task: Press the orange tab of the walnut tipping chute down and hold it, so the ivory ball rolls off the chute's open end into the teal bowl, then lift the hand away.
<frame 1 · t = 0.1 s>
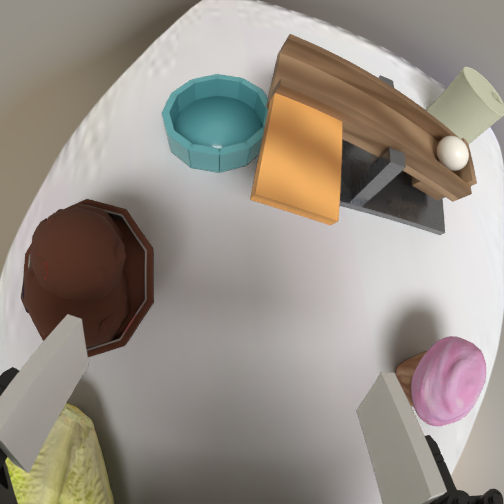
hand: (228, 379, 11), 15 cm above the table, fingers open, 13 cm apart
chute stand: (355, 161, 33), on the table
can: (446, 128, 38), on the table
teal bowl: (217, 128, 32), on the table
ball: (452, 153, 26), point 8 cm above the table, tilted 16°, touching chute
lettuce: (71, 479, 20), on the table
cupcake: (411, 375, 27), on the table
chute: (387, 160, 24), point 8 cm above the table, hinge at 12.0°, touching ball
ice cream bowl: (122, 292, 26), on the table
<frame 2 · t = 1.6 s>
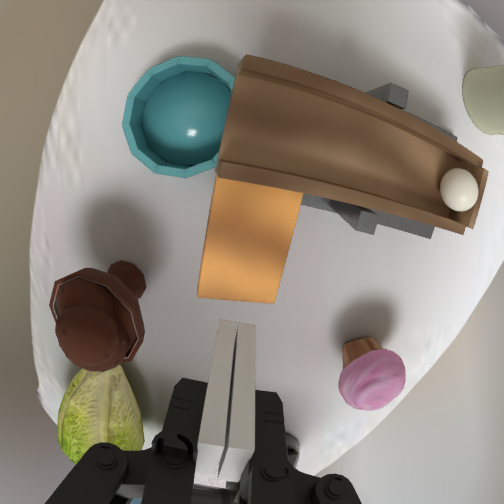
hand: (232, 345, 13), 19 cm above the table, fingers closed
chute stand: (348, 152, 28), on the table
can: (484, 101, 25), on the table
teal bowl: (188, 117, 27), on the table
ball: (459, 189, 21), point 8 cm above the table, tilted 16°, touching chute
lettuce: (112, 393, 42), on the table
cupcake: (358, 348, 38), on the table
chute: (362, 208, 23), point 8 cm above the table, hinge at 12.0°, touching ball
ice cream bowl: (126, 280, 34), on the table
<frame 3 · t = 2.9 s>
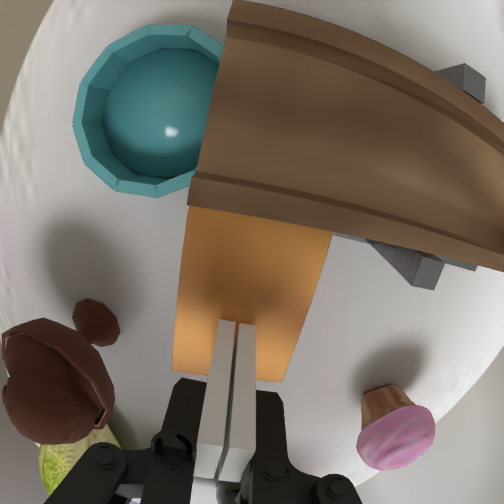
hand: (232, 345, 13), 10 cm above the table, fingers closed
chute stand: (385, 160, 20), on the table
teal bowl: (165, 111, 19), on the table
lettuce: (96, 433, 34), on the table
cupcake: (379, 395, 29), on the table
chute: (417, 249, 14), point 8 cm above the table, hinge at 6.0°, touching ball, gripper
ice cream bowl: (96, 321, 26), on the table
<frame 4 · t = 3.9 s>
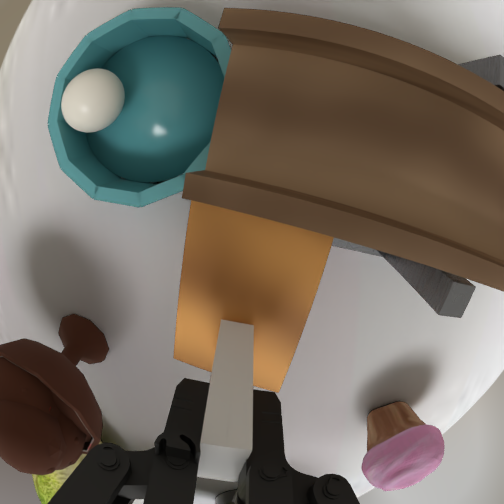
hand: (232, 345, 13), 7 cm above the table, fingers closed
chute stand: (401, 163, 17), on the table
teal bowl: (151, 106, 16), on the table
ball: (92, 100, 14), point 3 cm above the table, tilted 122°
lettuce: (90, 446, 31), on the table
cupcake: (386, 412, 27), on the table
chute: (445, 270, 12), point 8 cm above the table, hinge at -12.3°, touching gripper
ice cream bowl: (84, 337, 23), on the table
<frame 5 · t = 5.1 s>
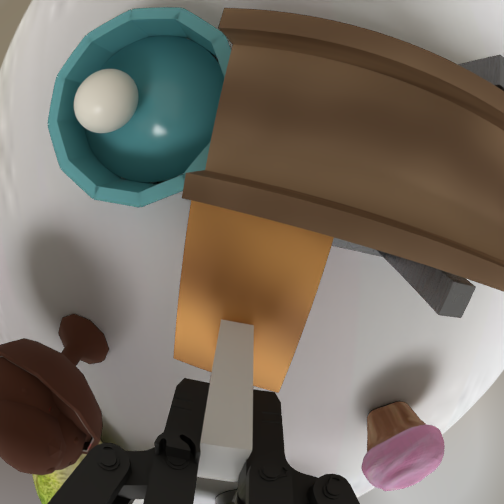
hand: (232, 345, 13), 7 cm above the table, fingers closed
chute stand: (401, 163, 17), on the table
teal bowl: (151, 106, 16), on the table
ball: (105, 100, 14), point 2 cm above the table, tilted 118°, touching teal bowl
lettuce: (90, 446, 31), on the table
cupcake: (386, 412, 27), on the table
chute: (445, 270, 12), point 8 cm above the table, hinge at -12.3°, touching gripper
ice cream bowl: (84, 337, 23), on the table
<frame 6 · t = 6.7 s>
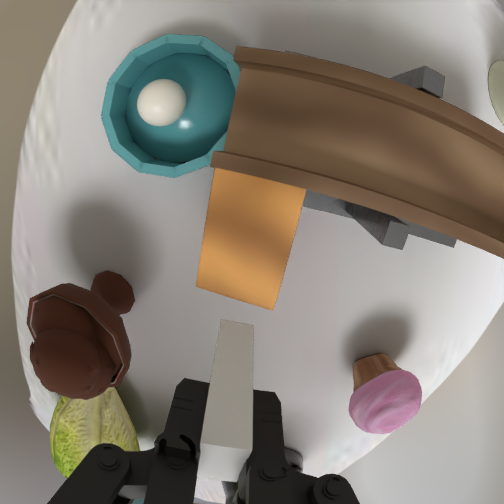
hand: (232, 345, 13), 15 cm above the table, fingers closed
chute stand: (366, 148, 24), on the table
teal bowl: (180, 106, 23), on the table
ball: (161, 102, 20), point 2 cm above the table, tilted 83°, touching teal bowl
lettuce: (105, 407, 39), on the table
cupcake: (370, 364, 33), on the table
chute: (389, 217, 18), point 8 cm above the table, hinge at -12.3°
ice cream bowl: (113, 292, 30), on the table
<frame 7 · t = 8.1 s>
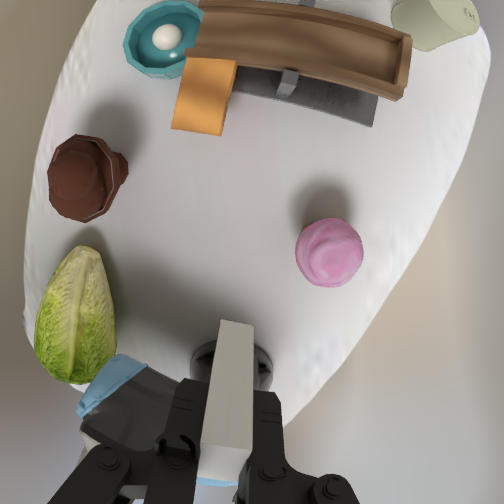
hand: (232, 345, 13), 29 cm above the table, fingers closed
chute stand: (289, 59, 33), on the table
can: (415, 26, 29), on the table
teal bowl: (170, 42, 32), on the table
ball: (167, 37, 30), point 2 cm above the table, tilted 53°, touching teal bowl
lettuce: (91, 300, 47), on the table
cupcake: (319, 236, 42), on the table
chute: (290, 75, 27), point 8 cm above the table, hinge at -12.3°
ice cream bowl: (113, 169, 39), on the table
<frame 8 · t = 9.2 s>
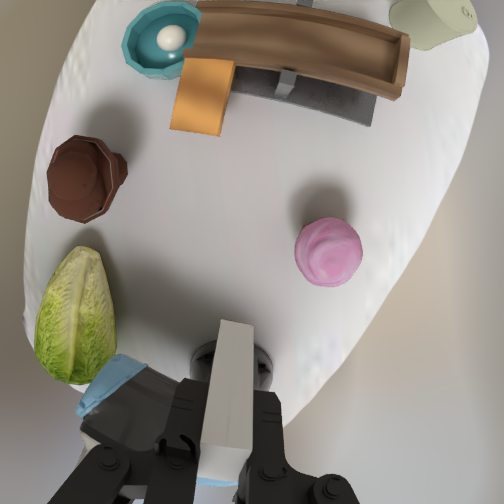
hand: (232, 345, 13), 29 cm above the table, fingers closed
chute stand: (288, 59, 33), on the table
can: (413, 26, 30), on the table
teal bowl: (169, 43, 32), on the table
ball: (171, 38, 30), point 2 cm above the table, tilted 28°, touching teal bowl
lettuce: (91, 300, 47), on the table
cupcake: (318, 236, 42), on the table
chute: (288, 75, 28), point 8 cm above the table, hinge at -12.3°
ice cream bowl: (112, 170, 39), on the table
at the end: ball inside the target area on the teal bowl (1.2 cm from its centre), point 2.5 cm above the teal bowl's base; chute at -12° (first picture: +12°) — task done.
